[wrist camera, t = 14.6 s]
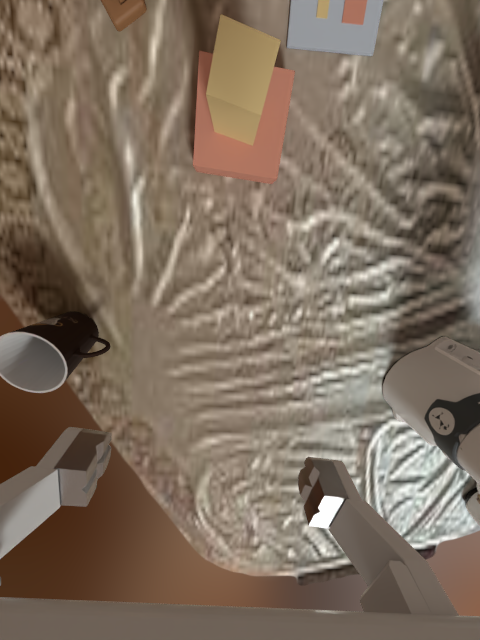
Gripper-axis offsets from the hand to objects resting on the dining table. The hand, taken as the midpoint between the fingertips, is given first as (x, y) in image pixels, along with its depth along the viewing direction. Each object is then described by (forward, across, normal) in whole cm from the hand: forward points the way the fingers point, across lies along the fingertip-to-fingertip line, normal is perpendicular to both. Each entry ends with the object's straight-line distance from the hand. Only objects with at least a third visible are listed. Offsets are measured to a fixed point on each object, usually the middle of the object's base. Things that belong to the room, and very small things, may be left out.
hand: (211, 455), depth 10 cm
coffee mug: (+29, +20, +12) cm, 37 cm away
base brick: (+30, +2, -20) cm, 35 cm away
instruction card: (+29, -6, -33) cm, 44 cm away
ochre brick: (+25, +2, -20) cm, 32 cm away
